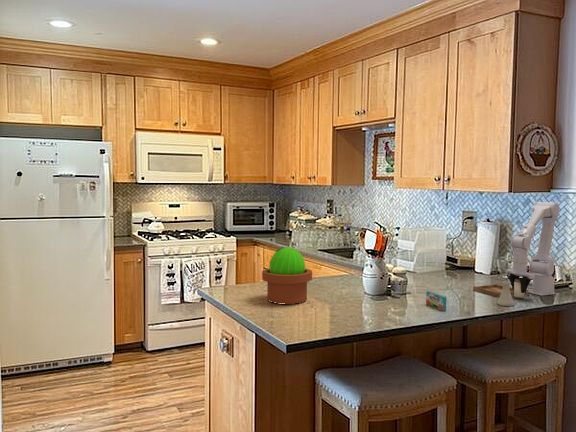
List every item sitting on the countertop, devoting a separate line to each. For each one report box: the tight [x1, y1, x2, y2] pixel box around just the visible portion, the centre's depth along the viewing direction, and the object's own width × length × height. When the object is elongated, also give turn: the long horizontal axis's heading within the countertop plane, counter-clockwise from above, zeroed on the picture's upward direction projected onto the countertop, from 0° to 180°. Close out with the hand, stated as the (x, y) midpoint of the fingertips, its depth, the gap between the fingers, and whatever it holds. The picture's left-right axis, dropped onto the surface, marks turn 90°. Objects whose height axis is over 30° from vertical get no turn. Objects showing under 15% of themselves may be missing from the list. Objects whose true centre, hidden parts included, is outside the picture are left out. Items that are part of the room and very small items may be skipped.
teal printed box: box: [425, 290, 447, 312], centre depth 220 cm, size 12×2×6 cm, turn 20°
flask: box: [496, 281, 515, 307], centre depth 226 cm, size 7×7×10 cm
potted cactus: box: [261, 246, 313, 305], centre depth 232 cm, size 22×22×25 cm
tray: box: [473, 284, 514, 298], centre depth 250 cm, size 15×15×2 cm
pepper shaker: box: [513, 277, 525, 299], centre depth 236 cm, size 4×4×8 cm
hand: (519, 291), depth 237 cm, fingers closed on pepper shaker, 4 cm apart
